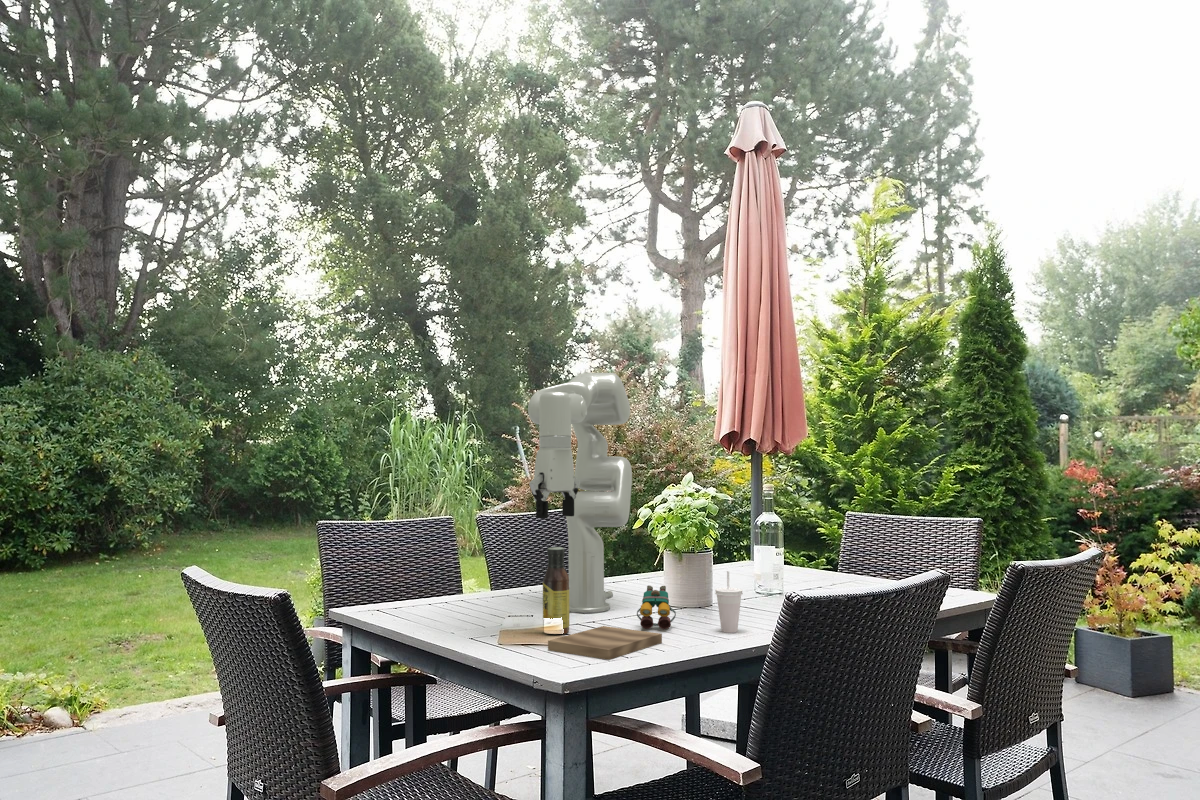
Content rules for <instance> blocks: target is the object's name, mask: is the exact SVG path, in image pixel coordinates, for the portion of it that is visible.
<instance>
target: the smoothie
mask: <svg viewBox="0 0 1200 800" xmlns="http://www.w3.org/2000/svg"><path fill="white" fill-rule="evenodd" d="M714 594H715V595H716V601H717V608H718V613H719V615H718V616H719V621H720V628H721V629H720V630H721V632H722V633H724V634H725V633H728V634H733V633H735V634H736V633H738V631H739V630H738V629H739V621H740V610H741V609H740V608H741V602H742V601H741V600H742V595H743V594H744V593H743V589H741V588H737V587H730V571H729V570H728V571H726V587H718V588H715V592H714Z"/></svg>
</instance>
